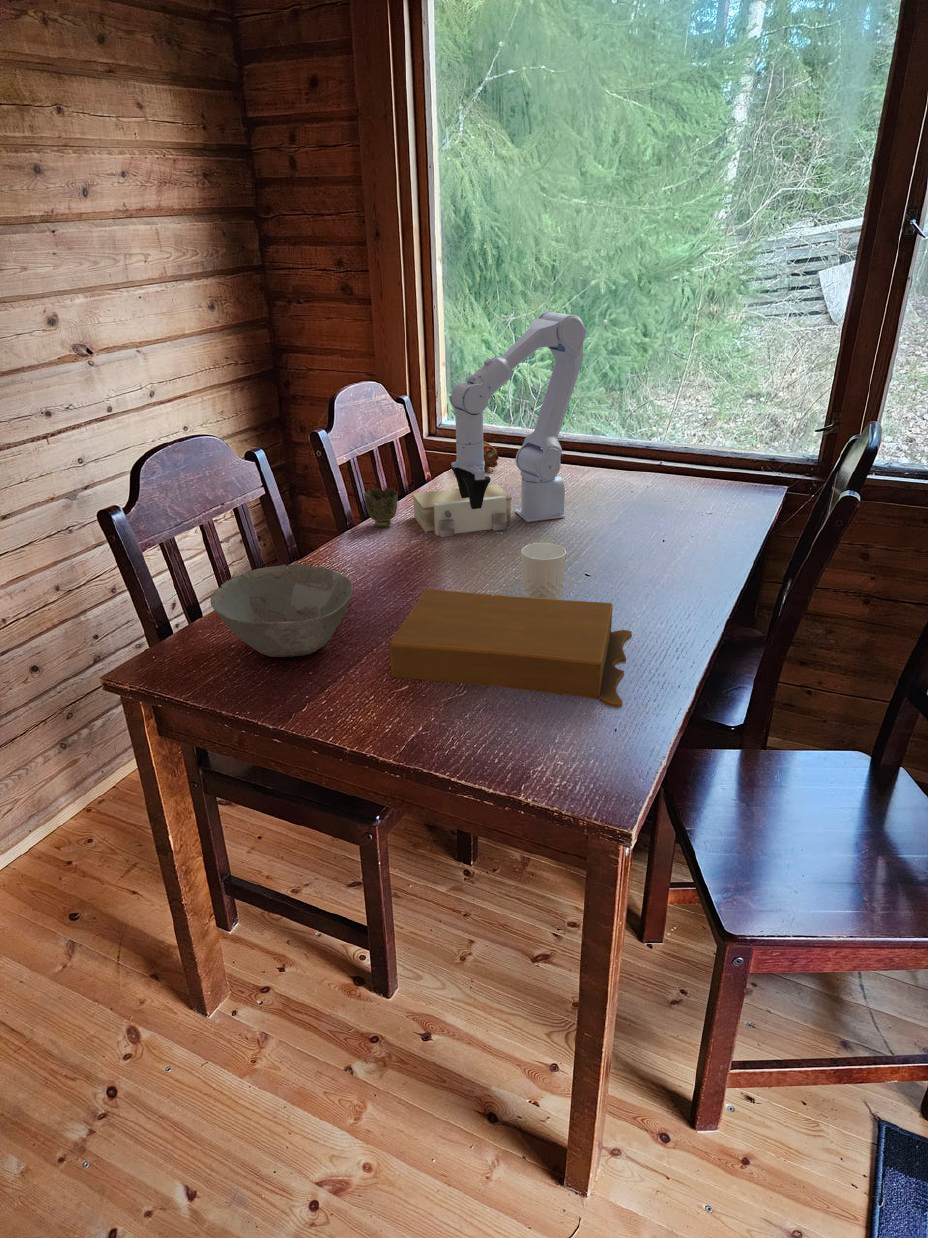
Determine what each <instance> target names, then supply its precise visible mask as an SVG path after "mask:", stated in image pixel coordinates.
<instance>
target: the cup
mask: <svg viewBox="0 0 928 1238" xmlns="http://www.w3.org/2000/svg"><path fill="white" fill-rule="evenodd" d="M398 494H399V492H398V491H397V489H396V490H395V489H394V488H393V487H390V488H389V487H386V488H385V489H384V490H381V488H380V487H377V488H376V487H373V488H371V490H370V489H367V491H366V490H365V491H364V493H363V495H364V500H365V505H366V506H365V507H366V510H367V513H368V516H369V517H370V518H371V520H373V521H374V525H375V526H376V528H379V529H380V528H381V529H384V528H388V527H390V526H391V524H392V521H391V520H392V519H394V518H395V516H396V514H397V511H398V510H397V509H398Z"/></svg>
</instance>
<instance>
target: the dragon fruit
mask: <svg viewBox="0 0 928 1238" xmlns="http://www.w3.org/2000/svg"><path fill="white" fill-rule="evenodd" d="M483 455H484V462H485V465H484V470H485V473H486V472H488V471H489V469H490V468H491V469H492V468H496V467H497V466H498V460H499V459H500V457H499V455H498V451H497V449H496V448H495V447H494V446H492V445H491V444H490V443H488V442H487V441H485V440H483Z"/></svg>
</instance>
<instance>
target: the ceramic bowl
mask: <svg viewBox="0 0 928 1238" xmlns="http://www.w3.org/2000/svg"><path fill="white" fill-rule="evenodd" d="M353 592H354V585H353V583H352V580H351V579H350V578H349V577H348V576H346V575H345V574H343V573H340V572H338V571H336V570H333V569H330V568H326V567H322V566H315V565H313V566H312V565H309V564H300V563H293V564H287V565H286V564H282V565H277V566H275V565H274V566H268V567H260V568H256V569H252V570H248V571H246V572H243V573H241V574H240V575H239V574H238V575H235V576H233V577H232V578H231V577H230V579H227V580H226V581H225V582H223V583H222V584H220V587H217V588H216V589H215V590H214V591H213V592H212V595H211V597H210V604H211V608H212V609H213V610H214V611H215V612H216V614H217V615H218V616H219V617H220V619H222V620H223V621H222V622H224V623H225V625H226V626H227V627H228V629H230V630H231V631H232V632H233V634H235V636H236V637H238V639H240V640H241V641H243V642H244V643H245V644H246V645H248V646H249V647H251V649H254V650H255V651H257V652H259V654H261V655H263V656H267V657H271V658H285V657H286V658H290V657H300V656H301V657H302V656H308V655H311V654H313V653H315V652H316V651H319V649H321V648H323V647H325V646H326V644H327V643H328V641H330V639H331V638H332V637H333V635H334V633H335V631H337V627H338V626H339V625H340V623H341V621H342V619H343V617H344V615H345V613H346V612H347V609H348V607H349V606H348V605H349V603H350V600H351V598H352V596H353Z"/></svg>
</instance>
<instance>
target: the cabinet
mask: <svg viewBox="0 0 928 1238" xmlns="http://www.w3.org/2000/svg"><path fill="white" fill-rule="evenodd" d="M411 495H412V499H413V515H414V516H413V517H414V519H415V520H416V521H417V523H418V524H419V526H420V527H421V528H422V530H423V531H424V532H425V533H426V532H432V531H433V532H435V521H434V503H442V502H450V501H459V500H468V499H469V498H461V495H460V491H459V488H452V489H450V488H449V489H443V490H434V491H426V492H416V493H412V494H411ZM503 495H504V496H505V497H506V513H499V514H492V529H491V530H492V531H493V532H496V531H503V530H507V528H508V526H507V525H508V522H511V516H512V515H511V514H512V513H511V508H512V507H511V505H512V503H511V502H512V500H513V499H512V496H511V495H509V493H507V491H505V490H504V489H503V488H502V487H501V486H499V484H490V485H489V484H488V486H487V488H486V491H485V494H484V498H486V497H494V496H503ZM455 534H456V533H455ZM455 534H454V520H453V519H449V520H441V521H440V535H439V536H440V538H449V537H455Z"/></svg>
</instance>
